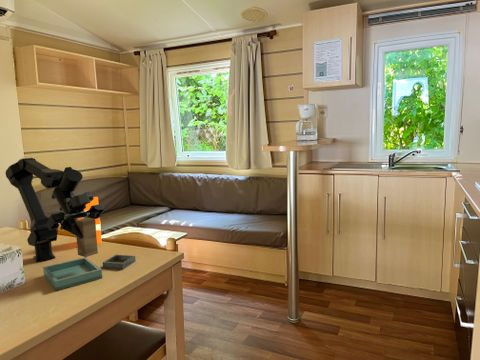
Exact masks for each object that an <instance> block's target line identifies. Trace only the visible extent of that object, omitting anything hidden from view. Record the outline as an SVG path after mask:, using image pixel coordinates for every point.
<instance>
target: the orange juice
mask: <svg viewBox="0 0 480 360" xmlns="http://www.w3.org/2000/svg"><path fill="white" fill-rule="evenodd" d="M93 198H94V199H93V200H92V201H91V202H90V203H88V204H86V206H87V207H86V208H85V209H84V211H88V210H89V209H90V207H91V206H93V205H97V204H99V197H98V196H93ZM78 219H83V218H78ZM78 219H77V220H78ZM95 221H96V235H97V245H99V244H102V243H103V242H102V229H101V226H102V225H101V217H100V218H98V219H95Z"/></svg>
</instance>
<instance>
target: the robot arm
mask: <svg viewBox="0 0 480 360" xmlns="http://www.w3.org/2000/svg"><path fill="white" fill-rule="evenodd" d="M34 176H35V177H36V178H38V179H39V180H40V184H41V185H42V186H43V187H44V188H45V189H54V190H53V191H52V194H51V199H52V200H54V199H55V200H56V201H57V203H58V205H59V206H60V207H59V212H56V213H51V214H50V215H49V217H48V216H47V215H45V212H44V209H43V208H42V205H41V202H40V200H39V197H38V196H37V194H36V191H35V189H34V185H32V184H33V179H34ZM5 177H6V179H8V182H9V184H10V185H12V186H13V187H14V188H15V189H17V191H18V192H19V194H20V197H21V198H22V201H23V204H24V206H25V209H26V211H27V212H28V213H27V214H28V215H29V218H30V221H31V224H30V228H29V232H30V233H29V235H28V237H27V239H26V241H27V244H28V245H29V246H31V247H34V252H35V253H34V254H35V256H32V257H33V259H34V261H36V263H37V262H42V261H47V260H52V259H55V258H56V256H55V254H53V247H52V246H53V245H52V242H55V241H57V240H58V231H59V230H64V231H65V232H68V233H70V234H71V235H74V236H75V237H76V236H77V237H79V238H81V239H82V238H83V235H82V233H81V231H80V230H79V228H78V227H77V225H76V223H75V220H78V218H87V217H88V218H93V219H98V218H100V219H101V217H102V214H103V213H104V212H105V210H106V208H105V206H104V205H103V204H102V203H98V204H97V205H93V206H91V207H90V209H89V210H88V211H84V209H85V208H86V207H87V206H86V204H88V203H90V202H91V201H92V200H93V199H94V198H93V197H94V195H93V194H92V192H91V191H87V192H86V191H85V193H83V194H77V195H75V193H74V192H75V191H76V190H77V189H78V187H79V186H80V183H81V182H82V180H83V174H82V172H80V171H78V170H77V169H74V168H72V166H67V167H65V168H64V170H61V169H54V168H50V167H49V166H46V165H45V164H43V163H41V162H39V161H38V160H36V159H35V158H33V157H26V158H24V157H22V158H20V159H18V161H16V162H15V163H13V164H11V165H9V166H8V167H7V168H6V169H5Z"/></svg>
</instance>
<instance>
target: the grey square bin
mask: <svg viewBox="0 0 480 360" xmlns="http://www.w3.org/2000/svg"><path fill="white" fill-rule="evenodd" d="M117 261H118V262H117ZM135 262H136V255H127V254H115V255H113V256H111V257H109V258H107V259H106V260H104V261H102V268H103V269H113V270H114V269H115V270H125V269H126V268H127V267H128V268H129V266H131V265H132V264H133V263H135Z"/></svg>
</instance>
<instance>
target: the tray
mask: <svg viewBox="0 0 480 360" xmlns="http://www.w3.org/2000/svg"><path fill="white" fill-rule="evenodd" d="M42 269H43V270H42V271H43V276H44V278H45V279H46V280H47V281H48V283H49V284H50V285H51V287H52V288H53V290H54V291H55V292H58V291H61V290H65V289H68V288H73V287H75V286H78V285H79V286H80V285H83V284H87V283H89V282H93V281H97V280H101V279H103V270H102V268H100V267H99V266H98V265H97V264H95V262H94V261H92V260H91V259H90V258H88V257H81V258H75V259H72V260H67V261H63V262H60V263H59V262H58V263H55V264H51V265H46V266H43V267H42Z"/></svg>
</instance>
